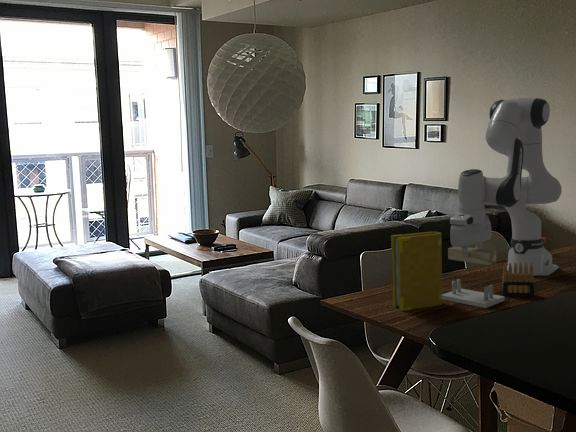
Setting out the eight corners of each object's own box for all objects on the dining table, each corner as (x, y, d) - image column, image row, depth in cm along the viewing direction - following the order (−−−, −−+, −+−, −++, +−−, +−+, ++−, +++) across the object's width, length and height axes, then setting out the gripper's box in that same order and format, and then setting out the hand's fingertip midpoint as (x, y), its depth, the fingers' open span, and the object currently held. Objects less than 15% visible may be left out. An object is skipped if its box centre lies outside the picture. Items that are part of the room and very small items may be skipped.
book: (401, 310, 219) (399, 238, 215) (393, 305, 225) (391, 235, 222) (446, 304, 224) (445, 233, 220) (436, 300, 230) (435, 230, 226)
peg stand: (460, 292, 239) (460, 276, 238) (504, 300, 225) (504, 283, 224) (440, 299, 231) (440, 282, 230) (485, 308, 217) (485, 290, 216)
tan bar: (456, 256, 233) (456, 246, 233) (496, 262, 221) (496, 250, 221) (448, 259, 230) (448, 248, 230) (488, 264, 218) (488, 253, 218)
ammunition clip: (502, 295, 231) (502, 263, 230) (502, 294, 233) (502, 261, 231) (534, 296, 229) (534, 263, 227) (533, 294, 230) (533, 262, 229)
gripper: (480, 212, 233) (480, 250, 235) (446, 219, 220) (447, 259, 221) (496, 213, 228) (496, 252, 230) (462, 221, 215) (463, 261, 217)
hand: (471, 255), depth 226 cm, fingers closed on tan bar, 5 cm apart
